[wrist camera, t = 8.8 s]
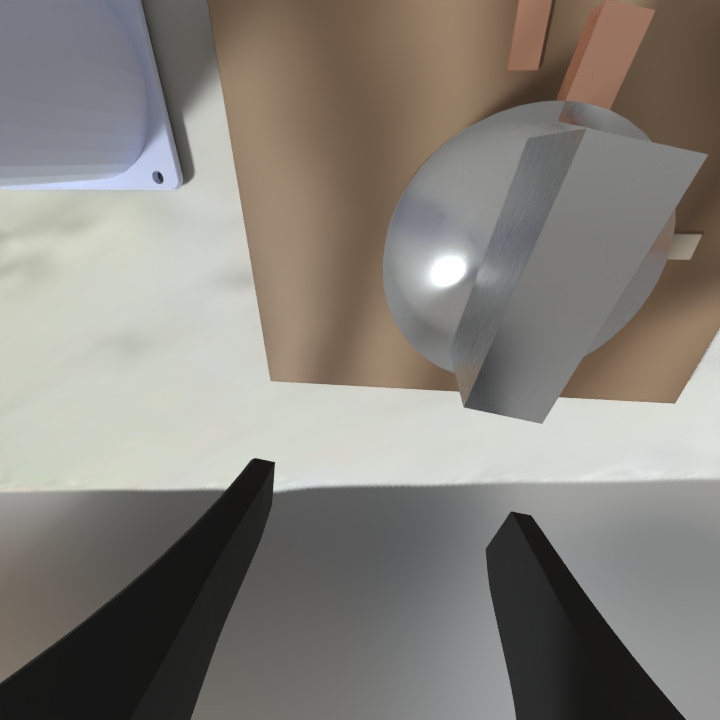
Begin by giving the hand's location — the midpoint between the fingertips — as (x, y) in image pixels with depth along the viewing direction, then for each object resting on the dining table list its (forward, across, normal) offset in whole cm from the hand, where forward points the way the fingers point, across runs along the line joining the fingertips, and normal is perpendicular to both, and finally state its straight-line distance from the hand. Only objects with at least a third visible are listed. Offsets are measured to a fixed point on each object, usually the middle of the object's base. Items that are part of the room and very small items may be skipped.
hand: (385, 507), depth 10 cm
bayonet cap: (+7, -3, -8) cm, 11 cm away
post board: (+10, -3, -7) cm, 13 cm away
